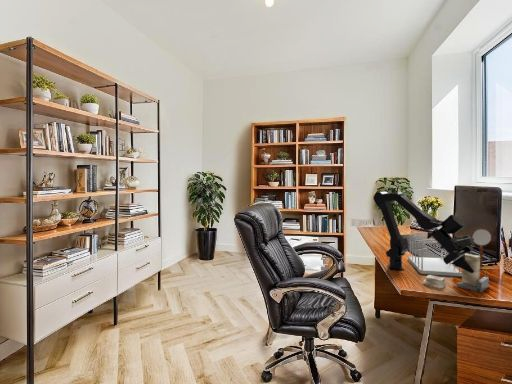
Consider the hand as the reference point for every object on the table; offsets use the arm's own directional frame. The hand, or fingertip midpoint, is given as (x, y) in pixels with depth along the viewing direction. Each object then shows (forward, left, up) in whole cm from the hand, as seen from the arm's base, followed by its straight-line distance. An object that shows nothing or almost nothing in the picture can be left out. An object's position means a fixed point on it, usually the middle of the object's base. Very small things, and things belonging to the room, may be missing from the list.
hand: (474, 271), depth 124 cm
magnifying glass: (-26, +15, -7) cm, 31 cm away
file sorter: (-26, -7, -7) cm, 27 cm away
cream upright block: (-1, -1, -7) cm, 7 cm away
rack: (-1, -1, -7) cm, 7 cm away
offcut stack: (-1, -15, -7) cm, 17 cm away
